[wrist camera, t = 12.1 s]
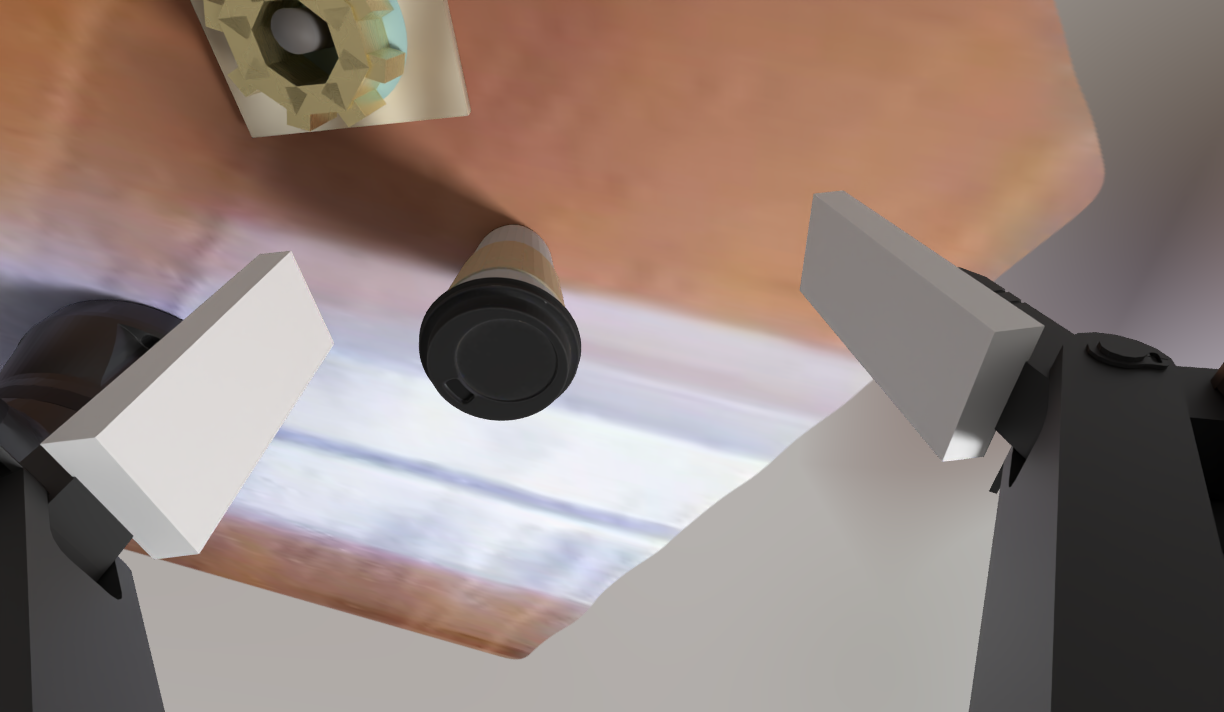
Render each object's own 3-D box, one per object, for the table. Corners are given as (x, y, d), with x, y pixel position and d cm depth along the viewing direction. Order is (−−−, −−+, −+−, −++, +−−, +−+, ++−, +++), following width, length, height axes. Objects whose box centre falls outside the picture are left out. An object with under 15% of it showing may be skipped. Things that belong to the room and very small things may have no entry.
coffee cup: (437, 280, 42) (387, 397, 30) (484, 177, 38) (449, 263, 26) (542, 327, 45) (537, 449, 33) (596, 237, 41) (613, 339, 29)
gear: (289, 120, 33) (252, 138, 29) (223, -45, 28) (167, -52, 24) (421, 107, 33) (402, 123, 29) (377, -59, 29) (348, -68, 25)
